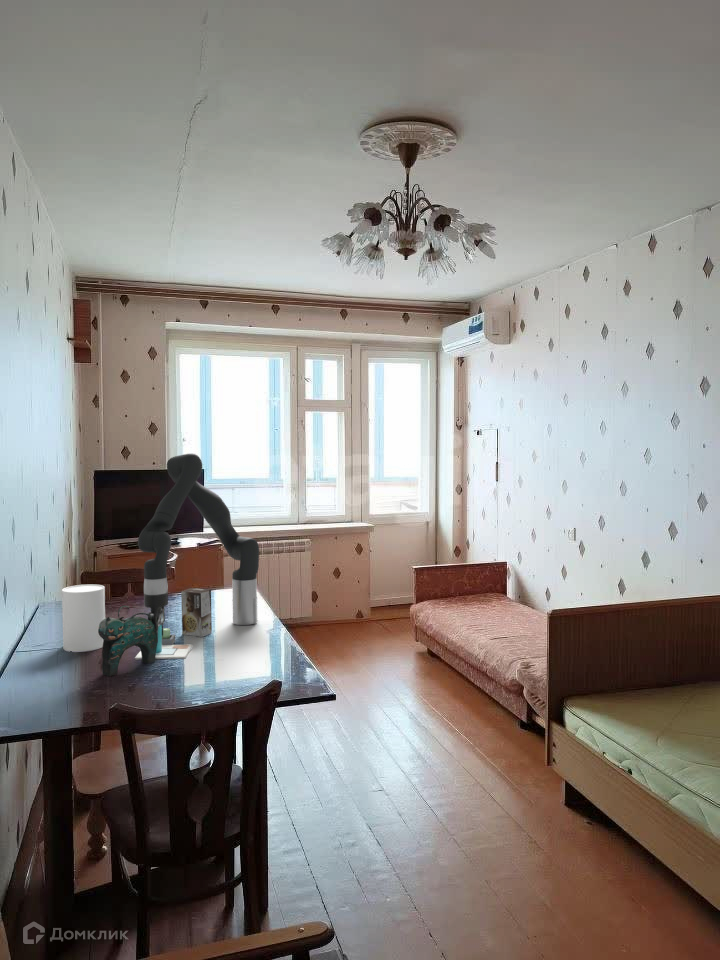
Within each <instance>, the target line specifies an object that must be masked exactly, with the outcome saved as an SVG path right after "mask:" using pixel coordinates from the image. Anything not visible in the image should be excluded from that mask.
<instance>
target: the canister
mask: <svg viewBox="0 0 720 960" xmlns="http://www.w3.org/2000/svg"><path fill="white" fill-rule="evenodd" d="M105 588H106V587H105V586H104V585H102V584H96V583H95V584H93V583H92V584H77V585H71V586H67V587H64V588H62V589H61V603H62V607H61V610H62V643H63V644H62V645H63V646H62V648H63V650H64V651H66V652H70V651H72V653H79V652H81V653H82V652H91V651H95V650H99V649H101V648H103V639H102V638H101V637H100V635H99V633H98V629H99V624H100V622H101V621H102V620H104V619H106V604H105V603H106V595H105V593H106V592H105V591H106V590H105Z"/></svg>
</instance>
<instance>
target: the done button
mask: <svg viewBox="0 0 720 960" xmlns="http://www.w3.org/2000/svg"><path fill="white" fill-rule="evenodd" d="M170 635H171V629H170V628H167V627H166V628H164V627H163V636H162V639H170Z"/></svg>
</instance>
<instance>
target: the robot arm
mask: <svg viewBox="0 0 720 960" xmlns="http://www.w3.org/2000/svg"><path fill="white" fill-rule="evenodd" d="M166 470H167V473H168V476H169V477H170V478H171V480H172V481H173V482H174V483H175V484H174V486H172V487H171V489H170V490H169V491H168V492H167V493H166V494H165V495H164V496H163V498H162V499H161V500H160V502H159V504H158V506H157V507H156V510H155V512H154V515H153V516H152V518H151V519H150V520H149V522H147V524H146V525H145V527H144V528H143V529H142V530H141V532H140V533H139V536H138V538H137V546H138V548H139V550H140V551H141V552H144V553H155V557H154V558H152V559H151V558H150V559H147V560H146V561H145V562H144V565H143V570H144V571H143V578H144V581H143V603H144V604H143V605H144V607H145V608H149V609H150V612H149V613H147V614H149V615H150V617H151V620H152V624H153V625H154V627H155V630H156V633H157V643H158V626H160V621H162V636H163V628H164V624H165V622H166V619H165V607H166V606H167V605H168V604H169V596H168V595H169V594H168V592H169V590H168V589H169V588H168V578H167V563H168V559H169V554H170V551H171V546H172V538H171V536H170V534H169V532H166V531H169V530H172V528H173V526H174V524H175V522H176V519H177V517H178V515H179V512H180V509H181V508H182V505H183V504H184V502H185V500H186V499H187V498H188V499H189V500H190V502H192V504H193V505H194V506H195V508H196V509H197V510H198V511H199V513H200V515H201V516H202V518H203V519H204V520H205V521H206V523H207V524H208V525H209V526H210V527H211V530H213V532H214V533H215V535H216V536H217V537H218V539H219V540H220V542H221V544H222V545H223V547H224V549H225V550H226V552H227V553H228V555H229V556H230V557H231V559H233V560H235V561H239V568H238V569H236V570H234V571H233V572H232V576H231V577H232V579H231V581H232V582H231V583H232V584H231V585H232V586H231V587H232V623H233V624H234V625H236V626H237V625H238V626H248V625H249V626H250V625H257V622H258V595H257V594H258V593H257V592H258V590H257V589H258V586H257V584H258V583H257V582H258V581H257V574H258V571H259V563H260V546H259V543H258V542H257V540H256V539H255V538H254V537H253V538H252V537H248V536H247V537H246V536H241V535H240V534H239V533H238V532H237V531H236V529H235V527H233V525H232V521H231V519H232V518H231V512H230V510H229V509H230V508H228V506H227V504H226V503H225V502H224V501H223V499H222V498H221V497H220V496H219V495H218V494H217V493H216V492H214V491H213V490H210V489H209V488H207V486H204V485H203V484H201V483H200V482H198V479H199V477H200V476H201V474H202V471H203V462H202V459H201V457H200V456H199V455H198V454H196V453H185V454H180V455H175V456H172V457H170V458H168V460H167V463H166ZM147 619H148V620H149V621H150V618H149V617H148V616H147Z"/></svg>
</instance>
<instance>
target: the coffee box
mask: <svg viewBox="0 0 720 960" xmlns="http://www.w3.org/2000/svg"><path fill="white" fill-rule="evenodd" d="M180 595H181V596H180V597H181V629H182V631H181V634H182V635H183V636H184V635H185V636H192V637H200V638H202V637H205V636H209V635H211V634H212V633H213V632H212V631H213V628H212V623H213V622H212V620H213V619H212V589H208V588H196V587H193V588H192V587H190V588H187V589H184V590H182V591H181V592H180Z"/></svg>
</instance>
